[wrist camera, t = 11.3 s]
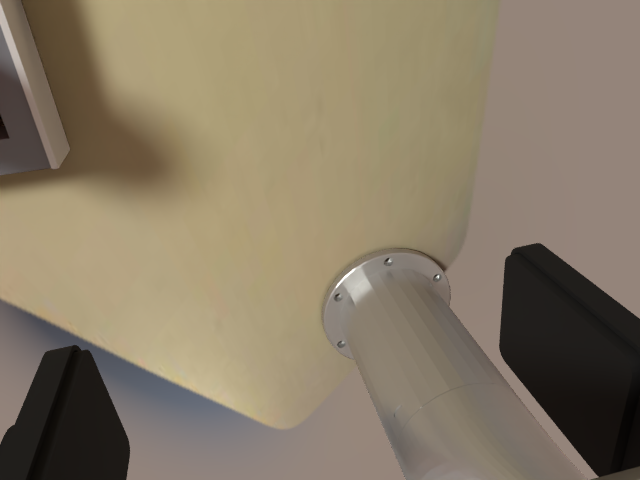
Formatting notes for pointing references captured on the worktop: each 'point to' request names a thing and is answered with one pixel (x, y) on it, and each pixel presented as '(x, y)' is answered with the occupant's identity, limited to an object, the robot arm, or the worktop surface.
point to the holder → (26, 100)
